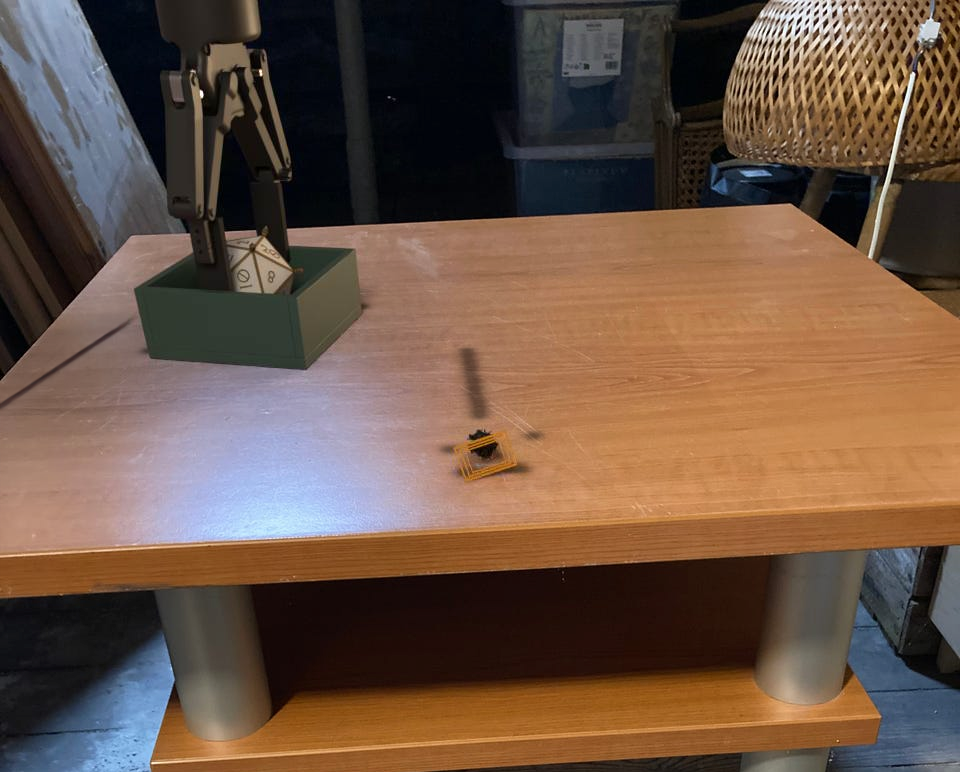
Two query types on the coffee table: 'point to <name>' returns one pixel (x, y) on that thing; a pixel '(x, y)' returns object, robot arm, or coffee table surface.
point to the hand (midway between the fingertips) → (248, 278)
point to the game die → (259, 266)
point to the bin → (252, 313)
